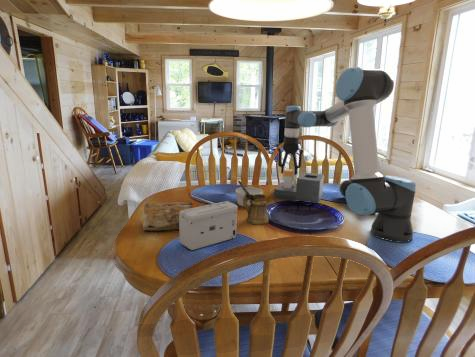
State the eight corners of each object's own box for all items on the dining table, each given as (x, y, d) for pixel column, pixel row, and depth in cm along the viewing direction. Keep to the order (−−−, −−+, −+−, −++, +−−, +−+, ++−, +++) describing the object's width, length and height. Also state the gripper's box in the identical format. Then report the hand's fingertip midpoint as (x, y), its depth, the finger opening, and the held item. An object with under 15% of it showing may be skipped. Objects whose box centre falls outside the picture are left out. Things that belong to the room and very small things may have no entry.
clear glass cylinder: (291, 189, 175) (292, 171, 172) (283, 188, 176) (284, 170, 174) (293, 187, 179) (294, 169, 177) (285, 186, 181) (286, 168, 178)
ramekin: (260, 199, 171) (260, 187, 169) (263, 208, 158) (264, 194, 156) (234, 199, 170) (235, 186, 168) (236, 208, 157) (236, 194, 155)
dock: (318, 204, 166) (320, 181, 163) (273, 198, 173) (274, 176, 170) (322, 195, 180) (324, 174, 177) (280, 190, 188) (282, 170, 185)
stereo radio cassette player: (226, 231, 130) (227, 182, 125) (239, 238, 124) (240, 187, 119) (178, 244, 118) (177, 190, 113) (189, 253, 111) (189, 196, 106)
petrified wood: (191, 218, 142) (191, 198, 138) (193, 236, 131) (194, 215, 126) (144, 219, 138) (143, 198, 133) (142, 238, 126) (141, 216, 122)
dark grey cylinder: (365, 216, 151) (367, 194, 149) (336, 197, 178) (338, 179, 175) (383, 215, 153) (386, 193, 150) (353, 197, 180) (355, 178, 177)
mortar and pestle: (236, 217, 146) (237, 177, 141) (266, 217, 146) (268, 177, 142) (237, 224, 137) (238, 182, 133) (269, 224, 138) (271, 183, 133)
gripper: (309, 136, 171) (306, 180, 177) (276, 134, 177) (274, 176, 183) (307, 138, 164) (303, 183, 170) (273, 136, 170) (270, 179, 176)
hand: (288, 179), depth 177 cm, fingers closed on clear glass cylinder, 4 cm apart
